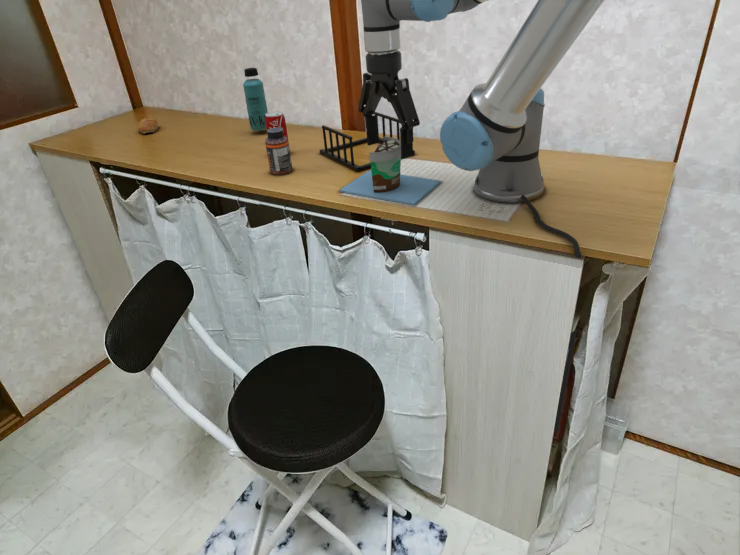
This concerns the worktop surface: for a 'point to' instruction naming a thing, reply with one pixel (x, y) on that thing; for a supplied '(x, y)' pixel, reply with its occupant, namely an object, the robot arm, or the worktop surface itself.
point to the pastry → (148, 125)
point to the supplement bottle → (278, 152)
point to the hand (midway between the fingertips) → (389, 150)
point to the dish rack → (353, 144)
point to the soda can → (276, 121)
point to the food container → (386, 165)
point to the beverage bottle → (255, 100)
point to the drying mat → (405, 193)
